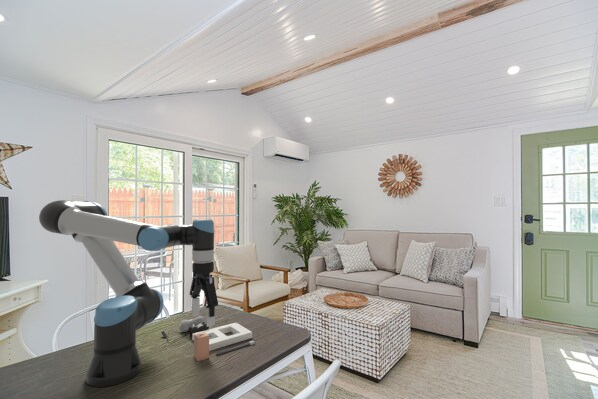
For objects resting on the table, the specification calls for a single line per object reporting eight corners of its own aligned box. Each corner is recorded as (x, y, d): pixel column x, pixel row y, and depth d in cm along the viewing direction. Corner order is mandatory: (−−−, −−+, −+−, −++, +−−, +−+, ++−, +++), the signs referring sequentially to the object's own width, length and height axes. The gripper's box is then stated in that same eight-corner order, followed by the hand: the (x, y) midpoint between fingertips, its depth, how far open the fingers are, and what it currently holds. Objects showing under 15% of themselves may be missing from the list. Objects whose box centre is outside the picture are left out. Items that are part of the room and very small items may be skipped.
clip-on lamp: (165, 351, 120) (210, 332, 129) (162, 336, 119) (207, 318, 128) (162, 337, 130) (203, 321, 139) (159, 324, 129) (201, 308, 138)
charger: (197, 361, 106) (198, 337, 106) (193, 357, 109) (194, 334, 109) (208, 357, 108) (209, 334, 108) (204, 353, 111) (204, 331, 112)
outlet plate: (205, 351, 113) (206, 344, 113) (192, 339, 123) (192, 332, 123) (252, 337, 125) (252, 331, 126) (235, 327, 136) (236, 321, 136)
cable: (216, 356, 109) (216, 353, 109) (214, 354, 110) (215, 352, 110) (254, 343, 120) (254, 341, 120) (253, 342, 121) (253, 340, 121)
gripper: (228, 264, 103) (228, 327, 102) (200, 256, 122) (199, 309, 121) (207, 267, 98) (206, 333, 97) (181, 258, 117) (180, 313, 116)
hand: (202, 320), depth 109 cm, fingers open, 13 cm apart
